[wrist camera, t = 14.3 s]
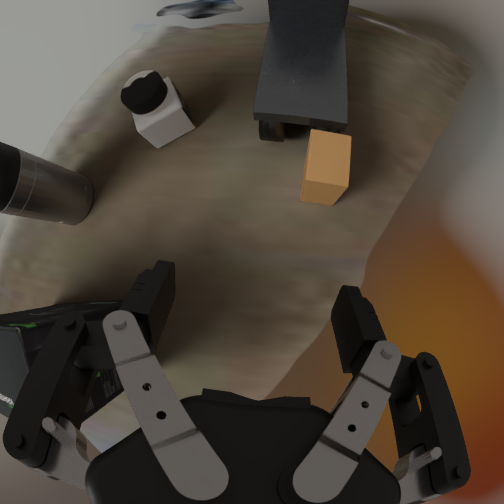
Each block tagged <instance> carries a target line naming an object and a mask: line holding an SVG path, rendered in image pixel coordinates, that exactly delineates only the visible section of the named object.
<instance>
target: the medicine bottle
mask: <svg viewBox="0 0 504 504" xmlns="http://www.w3.org/2000/svg"><path fill="white" fill-rule="evenodd" d="M121 101H122V103H123V104H124V105H125V106H126V107H127V108H128V109H130V110H131V112H132V115H133V119H134V122H135V125H136V129H137V131H138V133H140V134H141V135H142V136H143V137H144V138H145V139H147V140H148V141H149V142H150V143H151V144H152V145H154V146H155V147H156V148H160V147H162V146H164V145H166V144H167V143H169V142H171V141H173V140H175V139H176V138H178V137H180V136H182V135H184V134H186V133H188V132H190V131H192V130H193V129H195V128H196V125H195V123H194V121H193V119H192V117H191V114H190V112H189V110H188V108H187V106H186V103H185V101H184V99H183V97H182V96H181V94H180V93H179V91H178V90H177V88H176V87H175V85H174V84H173V82H172V81H171V79H170V78H169V77H166V78H164V79H162V78H161V76H160V75H159V73H157V72H156V71H152V70H147V71H142V72H139V73H137V74H135V75H134V76H132V77H131V78H130V79H129V80H128V81H127V82H126V83H125V85H124V87H123V89H122V91H121Z"/></svg>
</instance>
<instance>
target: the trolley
mask: <svg viewBox="0 0 504 504" xmlns="http://www.w3.org/2000/svg"><path fill="white" fill-rule="evenodd" d="M268 5H269V15H270V22H269V27H268V32H267V37H266V43H265V48H264V53H263V58H262V64H261V69H260V74H259V80H258V85H257V91H256V97H255V102H254V108H253V115H254V119H255V120H259V136H260V139H261V140H266V141H276V142H284V137H285V130H286V123H293V124H301V125H309V126H313V129H314V130H321V131H327V132H332V133H338V134H339V133H340V130H341V131H345V128H346V126H347V121H348V99H347V64H346V47H345V34H344V25H345V20H346V15H347V10H348V5H349V0H268Z"/></svg>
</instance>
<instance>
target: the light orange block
mask: <svg viewBox="0 0 504 504" xmlns="http://www.w3.org/2000/svg"><path fill="white" fill-rule="evenodd" d="M350 155H351V136H348V135H343V134H338V133H332V132H327V131H321V130H314V129H311V132H310V138H309V143H308V148H307V153H306V158H305V166H304V174H303V182H302V190H301V198H300V201H306V202H312V203H318V204H324V205H330V206H332V205H333V204H334V203H335V202H336V201H337V200H338V198H339V197H340V196H341V195H342V194H343V193H344V191H345V190H346V189H347V188H348V184H349V171H350Z"/></svg>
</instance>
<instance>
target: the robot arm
mask: <svg viewBox="0 0 504 504" xmlns="http://www.w3.org/2000/svg"><path fill="white" fill-rule="evenodd" d="M92 199H93V188H92V184H91V182H90V180H89V179H88V178H87V177H85V176H83V175H80V174H78V173H76V172H73V171H71V170H69V169H66V168H64V167H61V166H59V165H57V164H54V163H52V162H49V161H47V160H45V159H42V158H40V157H37V156H35V155H32V154H30V153H27V152H25V151H22V150H20V149H17V148H15V147H13V146H9V145H7V144H4V143H2V142H0V213H4V214H10V215H16V216H22V217H28V218H33V219H39V220H45V221H51V222H56V223H62V224H68V225H76V224H78V223H80V222H81V221H82V220H83V219H84V218H85V217H86V215H87V214H88V212H89V210H90V207H91V204H92ZM175 289H176V288H175V264H174V262H168V261H161V260H158V262H157V263H156V265H155V267H154V269H153V270H150V269H146V270H145V271H143V272H142V273H141V274H139V275H138V277H137V279H136V280H135V283H134V284H133V286H132V287H131V289H130V291H129V292H128V294H127V296H126V298H125V299H124V301H123V303H122V305H121V307H120V308H119V310H118V311H114V312H112V313H110V314H108V315H107V316H106V317H105V318H104V320H102V321H85V319H84V317H83V315H82V314H80V313H79V312H75V311H70V312H66V313H64V314H62V315H61V316H60V317H59V318H58V319H57V320H56V322H55V324H54V325H53V327H52V329H51V331H50V332H49V334H48V336H47V338H46V339H45V341H44V343H43V345H42V347H41V349H40V350H39V352H38V354H37V356H36V358H35V360H34V362H33V364H32V366H31V368H30V370H29V372H28V374H27V376H26V378H25V381H24V383H23V385H22V387H21V389H20V392H19V394H18V396H17V399H16V401H15V403H14V406H13V408H12V411H11V413H10V416H9V419H8V421H7V424H6V427H5V430H4V433H3V443H4V447H5V449H6V451H7V452H8V453H9V454H10V455H11V456H12V457H14V458H15V459H17V460H18V461H20V462H22V463H23V464H24V465H25V466H27V467H29V468H31V469H32V470H34V471H36V472H38V473H40V474H42V475H45V476H47V477H49V478H51V479H54V480H62V481H64V482H67V483H69V484H72V485H74V486H76V487H78V488H81V489H84V490H86V491H87V494H88V497H89V500H90V504H420V503H423V502H426V501H428V500H431V499H434V498H436V497H439V496H442V495H444V494H446V493H449V492H451V491H453V490H456V489H458V488H460V487H462V486H464V485H465V484H466V483H467V481H468V479H469V477H470V472H471V469H470V463H469V459H468V454H467V450H466V445H465V441H464V437H463V434H462V430H461V426H460V423H459V420H458V416H457V413H456V410H455V407H454V403H453V400H452V398H451V394H450V391H449V389H448V386H447V383H446V380H445V378H444V375H443V372H442V370H441V367H440V364H439V362H438V360H437V359H436V358H435V357H434V356H433V355H431V354H430V353H427V352H421V353H419V354H418V355H417V357H416V358H415V359H414V358H411V357H407V356H403V355H401V352H400V350H399V349H398V347H397V346H396V345H394V344H393V343H391V342H389V341H387V340H386V337H385V335H384V332H383V329H382V327H381V324H380V322H379V320H378V317H377V315H376V314H375V310H374V308H373V305H372V304H371V303H370V302H369V301H368V300H367V298H364V297H362V295H361V292H360V290H359V288H358V287H356V286H347V285H343V286H342V287H341V289H340V291H339V294H338V296H337V299H336V301H335V303H334V306H333V308H332V312H331V322H332V326H333V330H334V334H335V338H336V342H337V347H338V350H339V355H340V359H341V364H342V369H343V373H352V375H353V378H352V379H351V380H350V382H349V383H348V385H347V387H346V388H345V390H344V391H343V393H342V395H341V396H340V398H339V399H338V401H337V402H336V404H335V405H334V407H333V408H332V409H331V411H330V412H327V411H325V410H324V409H322V408H319V407H317V406H314V405H311V404H310V397H279V398H273V399H267V400H260V401H257V400H253V399H250V398H247V397H244V396H240V395H237V394H235V393H232V392H227V391H219V390H212V389H205V388H203V391H202V395H197V396H191V397H187V398H184V399H181V400H179V399H178V397H177V395H176V394H175V392H174V390H173V388H172V387H171V385H170V383H169V381H168V379H167V378H166V376H165V374H164V372H163V370H162V368H161V366H160V364H159V362H158V360H157V358H156V356H155V355H154V353H153V352H155V351H156V348H157V345H158V342H159V339H160V336H161V334H162V331H163V328H164V325H165V323H166V320H167V317H168V314H169V312H170V309H171V306H172V304H173V301H174V297H175ZM151 352H152V353H151ZM100 369H117V372H118V375H119V377H120V380H121V383H122V385H123V388H124V390H125V393H126V395H127V397H128V400H129V402H130V404H131V407H132V409H133V411H134V413H135V415H136V418H137V420H138V422H139V424H140V426H141V427H140V428H139V429H137V430H136V431H134V432H133V433H132V434H130V435H129V436H127V437H126V438H124V439H123V440H121V441H120V442H118V443H117V444H115V445H114V446H112V447H111V448H109V449H108V450H106V451H105V452H103V453H101V454H100V455H98V456H97V457H96V458H94V460H92V462H90V461H89V459H88V456H87V441H86V439H85V437H84V435H83V434H82V433H81V432H80V431H79V430H80V427H81V424H82V420H83V417H84V414H85V411H86V407H87V404H88V401H89V398H90V395H91V392H92V389H93V387H94V384H95V381H96V378H97V375H98V373H99V370H100ZM417 395H419V398H420V402H421V412H420V409H419V406H418V402H417V398H416V396H417ZM388 401H389V405H390V410H391V415H392V420H393V426H394V431H395V437H396V443H397V449H398V456H399V459H398V461H397V462H396V464H395V468H394V471H393V472H392V473H391V472H390V471H389V470H388V469H387V468H386V467H385V466H384V465H383V464H382V463H380V462H379V461H378V460H377V459H376V458H375V457H374V456H373V455H372V454H371V453H370V452H369V451H368V450H367V449H366V448H365V446H366V444H367V442H368V440H369V439H370V437H371V435H372V433H373V431H374V429H375V427H376V425H377V423H378V421H379V419H380V417H381V415H382V413H383V411H384V408H385V406H386V404H387V402H388Z"/></svg>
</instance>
